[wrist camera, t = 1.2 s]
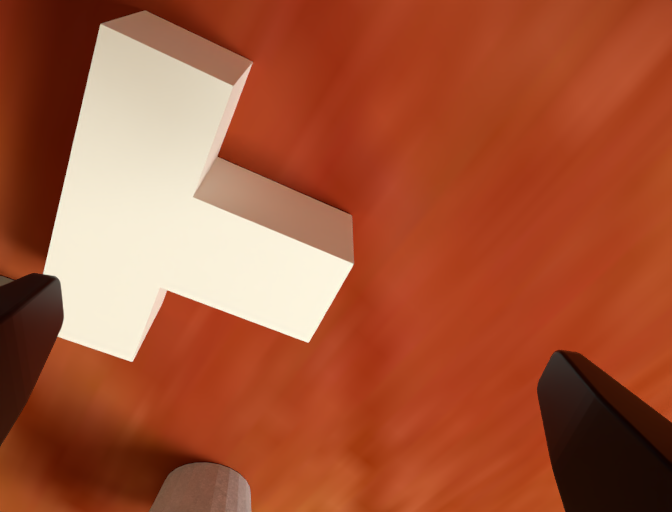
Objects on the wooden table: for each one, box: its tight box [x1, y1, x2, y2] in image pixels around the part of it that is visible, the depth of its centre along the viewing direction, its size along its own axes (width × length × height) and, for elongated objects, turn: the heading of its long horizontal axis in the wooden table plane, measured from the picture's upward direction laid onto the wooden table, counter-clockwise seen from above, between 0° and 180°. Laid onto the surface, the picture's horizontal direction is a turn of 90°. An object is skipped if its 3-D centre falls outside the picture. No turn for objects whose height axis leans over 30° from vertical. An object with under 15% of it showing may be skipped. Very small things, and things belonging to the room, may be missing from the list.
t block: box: [43, 10, 354, 362], centre depth 20 cm, size 10×12×4 cm
